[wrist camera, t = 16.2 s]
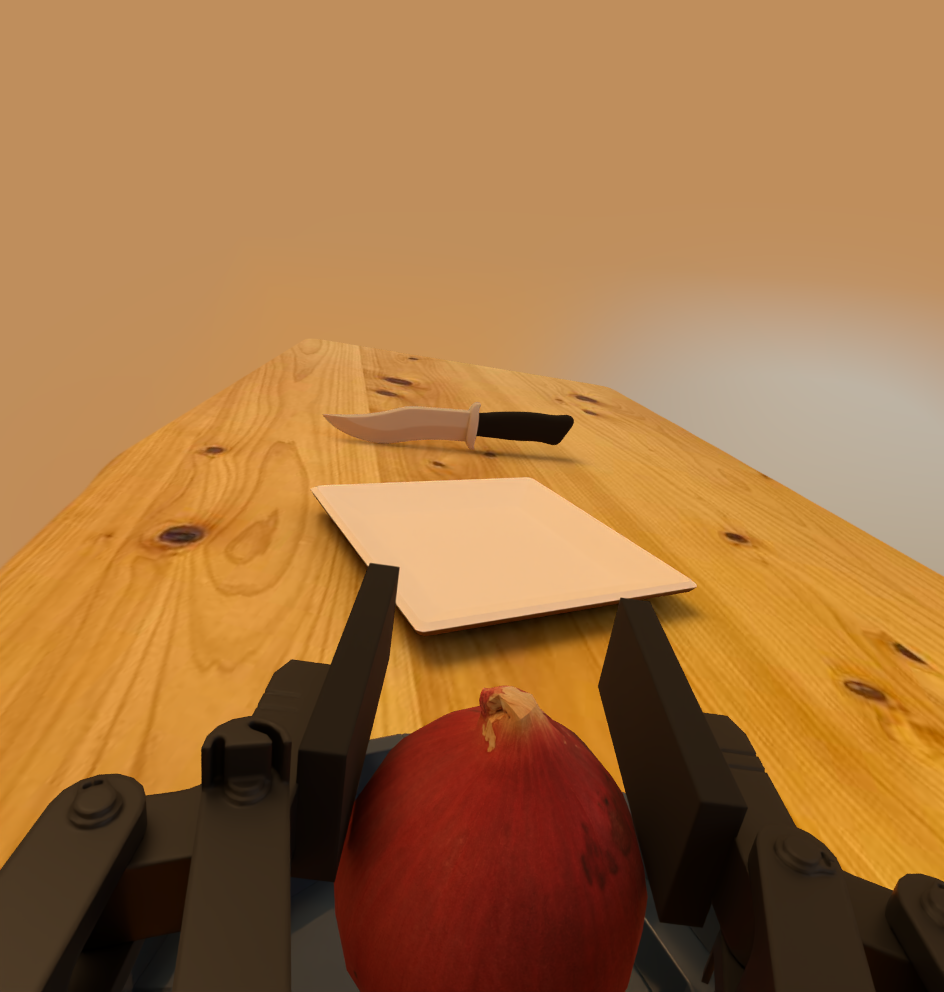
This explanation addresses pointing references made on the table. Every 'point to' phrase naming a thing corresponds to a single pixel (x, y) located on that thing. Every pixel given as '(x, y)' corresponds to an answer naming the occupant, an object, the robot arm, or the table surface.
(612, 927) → the onion
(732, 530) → the table surface
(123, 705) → the table surface
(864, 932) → the robot arm
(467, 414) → the knife
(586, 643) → the table surface
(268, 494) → the table surface
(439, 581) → the plate
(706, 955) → the bowl
